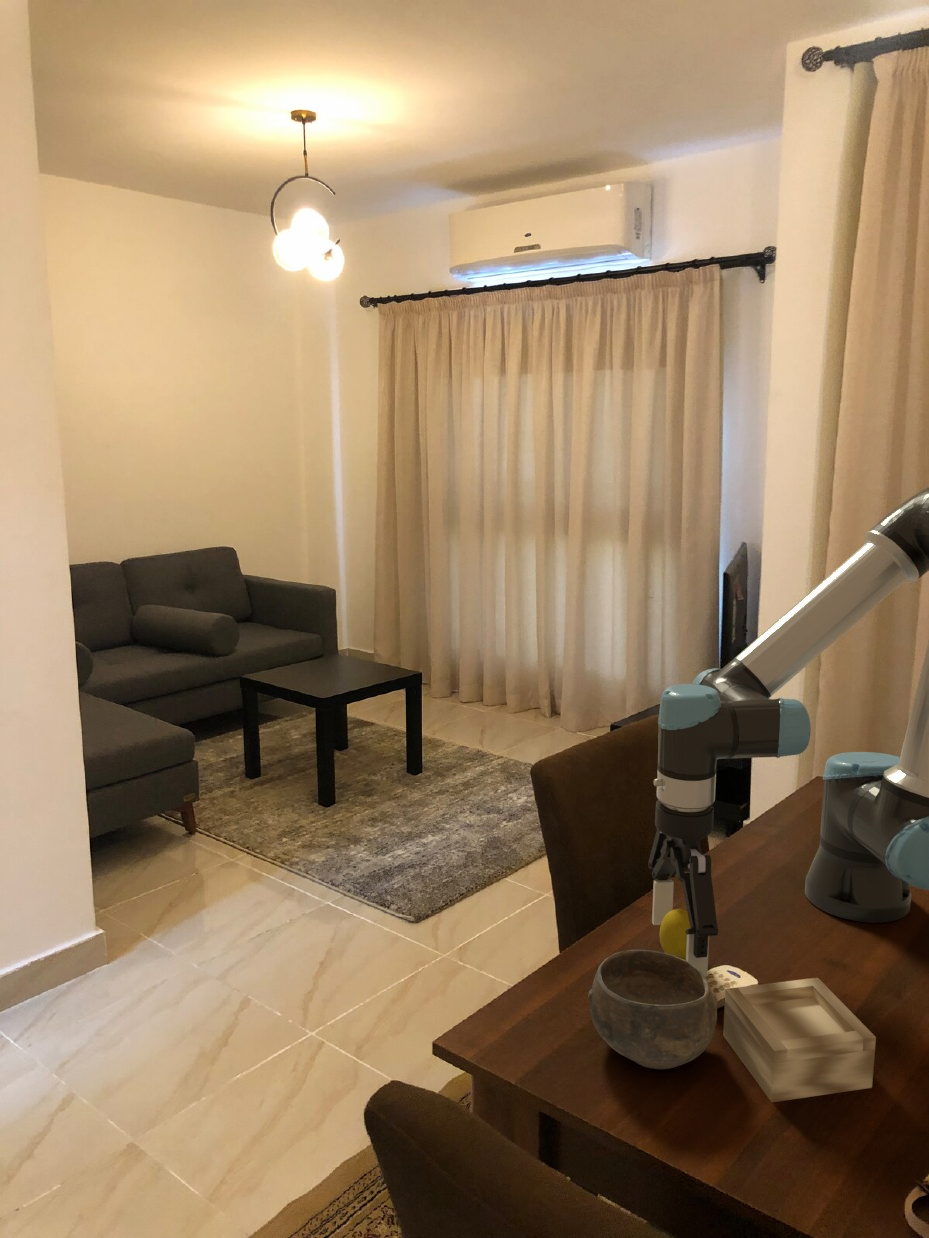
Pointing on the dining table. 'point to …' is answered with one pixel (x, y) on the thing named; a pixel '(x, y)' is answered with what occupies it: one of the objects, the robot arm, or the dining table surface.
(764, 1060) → the birch box
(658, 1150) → the dining table surface
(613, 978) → the bowl
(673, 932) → the lemon
